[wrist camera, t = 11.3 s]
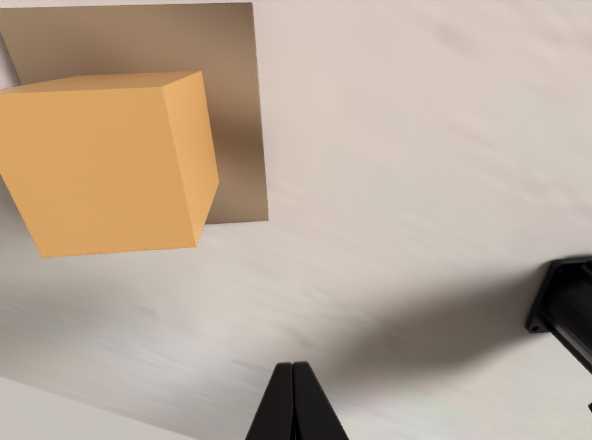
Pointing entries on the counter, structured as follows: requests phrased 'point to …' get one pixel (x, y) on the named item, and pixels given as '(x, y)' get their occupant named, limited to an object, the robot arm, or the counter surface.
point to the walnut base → (162, 58)
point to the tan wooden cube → (109, 161)
